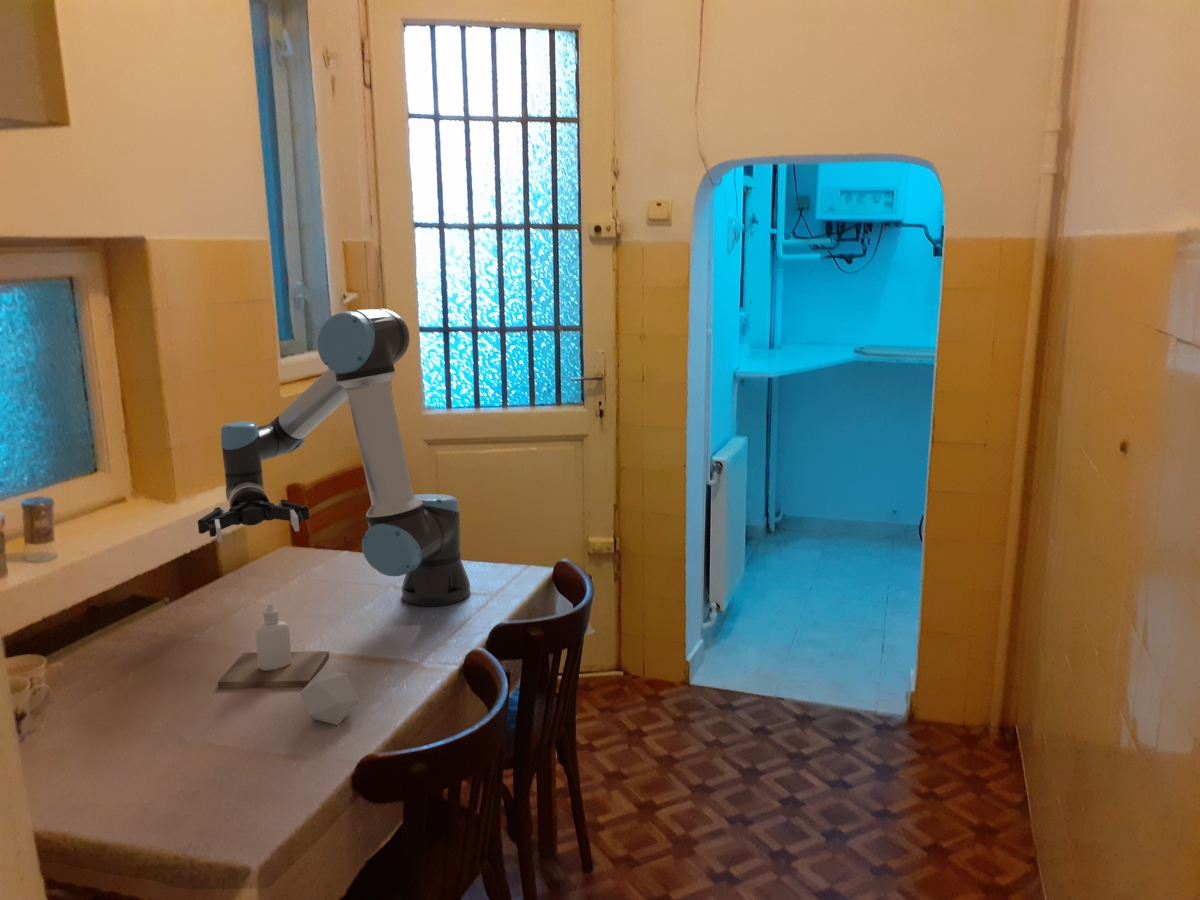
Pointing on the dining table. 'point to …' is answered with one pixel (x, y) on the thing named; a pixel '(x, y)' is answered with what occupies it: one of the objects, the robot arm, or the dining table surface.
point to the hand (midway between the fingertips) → (258, 529)
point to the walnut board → (274, 671)
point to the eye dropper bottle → (273, 642)
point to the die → (329, 696)
